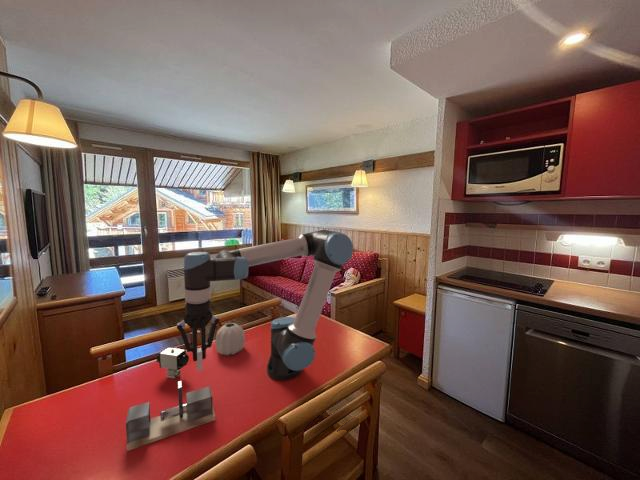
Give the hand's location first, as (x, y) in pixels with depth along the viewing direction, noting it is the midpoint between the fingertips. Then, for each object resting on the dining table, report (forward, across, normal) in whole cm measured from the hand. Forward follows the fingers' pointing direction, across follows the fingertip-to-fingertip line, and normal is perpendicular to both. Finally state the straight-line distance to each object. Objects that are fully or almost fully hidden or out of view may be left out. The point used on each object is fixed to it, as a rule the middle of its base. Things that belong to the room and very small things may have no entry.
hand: (199, 368), depth 88 cm
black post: (+15, +5, 0) cm, 16 cm away
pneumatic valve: (+17, +7, -28) cm, 34 cm away
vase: (+17, -17, -37) cm, 44 cm away
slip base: (+17, +8, 0) cm, 19 cm away
